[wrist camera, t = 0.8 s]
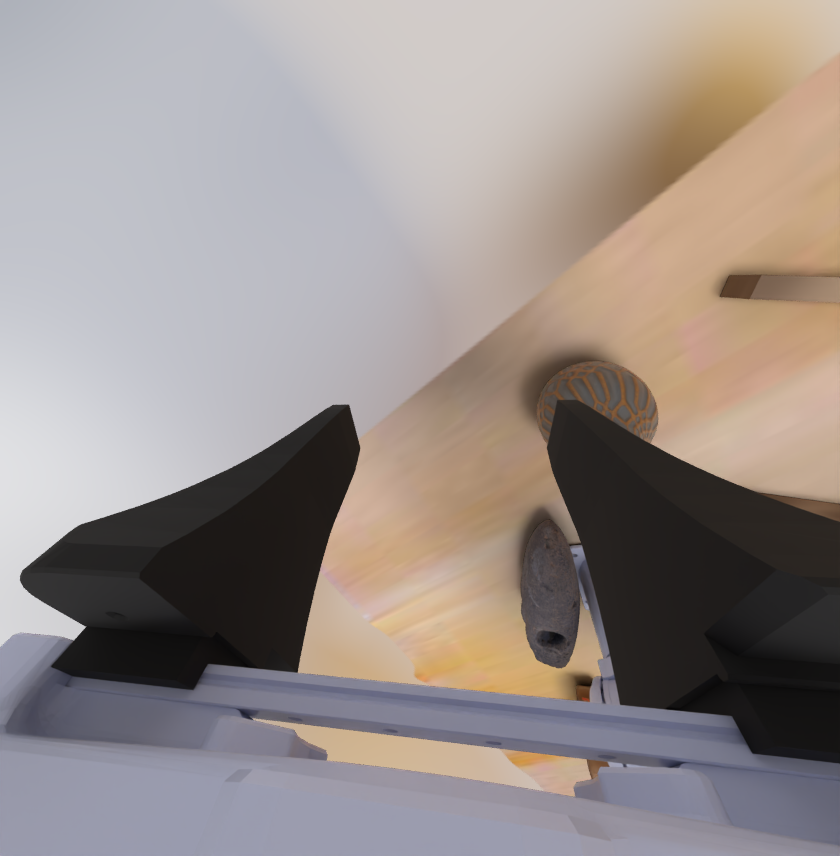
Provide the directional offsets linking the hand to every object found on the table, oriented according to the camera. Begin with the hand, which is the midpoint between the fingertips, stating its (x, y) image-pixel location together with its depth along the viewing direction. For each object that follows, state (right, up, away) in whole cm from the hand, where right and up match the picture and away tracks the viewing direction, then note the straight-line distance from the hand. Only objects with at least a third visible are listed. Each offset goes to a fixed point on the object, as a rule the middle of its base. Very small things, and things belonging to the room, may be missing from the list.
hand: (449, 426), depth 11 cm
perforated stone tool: (+12, -14, +21) cm, 28 cm away
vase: (+12, +3, +13) cm, 18 cm away
